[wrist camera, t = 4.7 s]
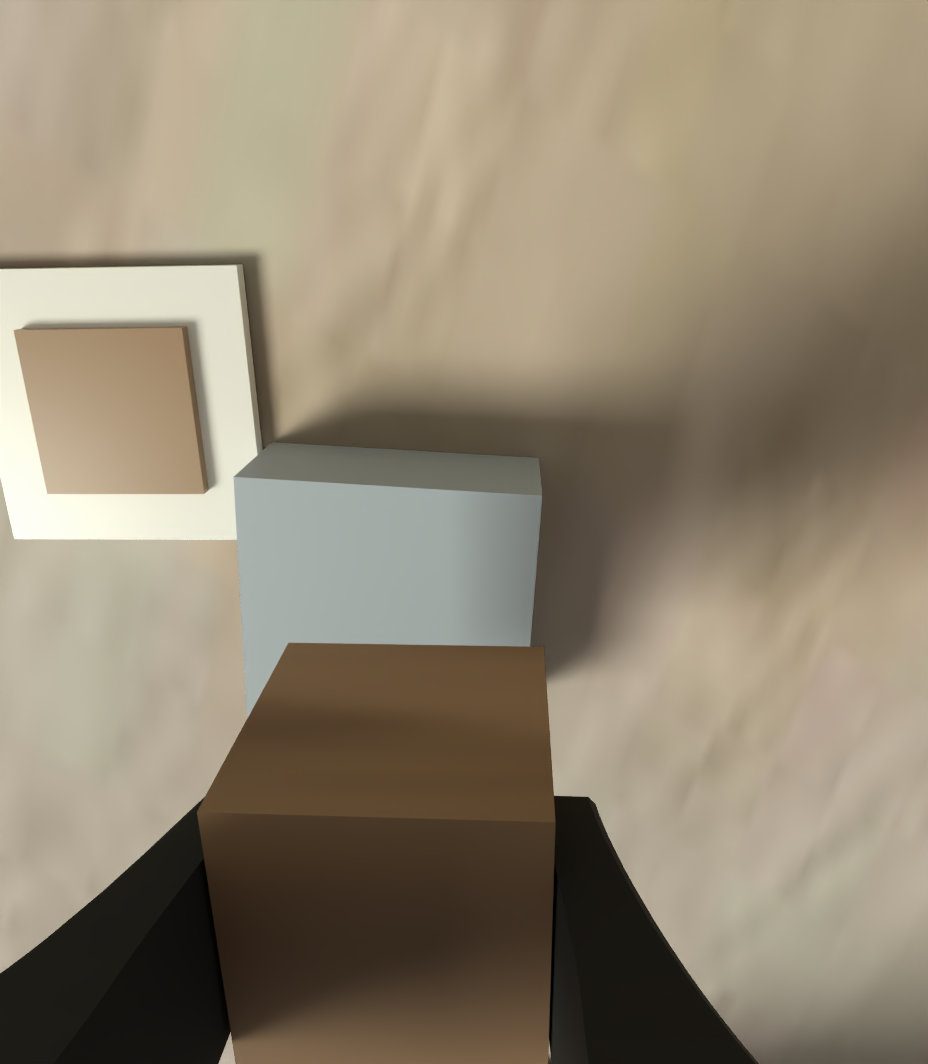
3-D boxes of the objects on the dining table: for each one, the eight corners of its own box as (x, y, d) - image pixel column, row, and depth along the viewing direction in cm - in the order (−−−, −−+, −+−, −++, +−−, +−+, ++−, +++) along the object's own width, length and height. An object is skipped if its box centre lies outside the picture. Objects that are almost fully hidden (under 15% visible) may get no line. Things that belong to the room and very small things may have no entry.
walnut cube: (539, 854, 14) (547, 1081, 10) (308, 847, 14) (236, 1066, 11) (543, 646, 13) (555, 823, 9) (288, 642, 13) (197, 812, 9)
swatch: (271, 533, 19) (262, 544, 19) (24, 533, 20) (6, 543, 19) (242, 264, 17) (232, 266, 17) (-35, 269, 18) (-56, 271, 17)
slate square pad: (520, 685, 21) (520, 758, 18) (283, 669, 21) (248, 737, 18) (538, 454, 19) (542, 495, 16) (275, 439, 19) (233, 476, 16)
